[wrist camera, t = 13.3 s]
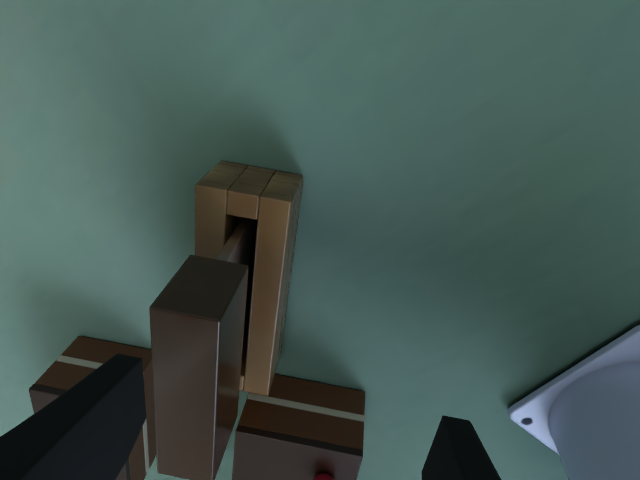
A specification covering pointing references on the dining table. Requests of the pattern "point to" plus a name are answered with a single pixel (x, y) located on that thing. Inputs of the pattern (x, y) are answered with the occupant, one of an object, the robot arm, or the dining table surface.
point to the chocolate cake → (300, 433)
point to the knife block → (270, 252)
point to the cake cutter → (201, 355)
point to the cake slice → (81, 363)
